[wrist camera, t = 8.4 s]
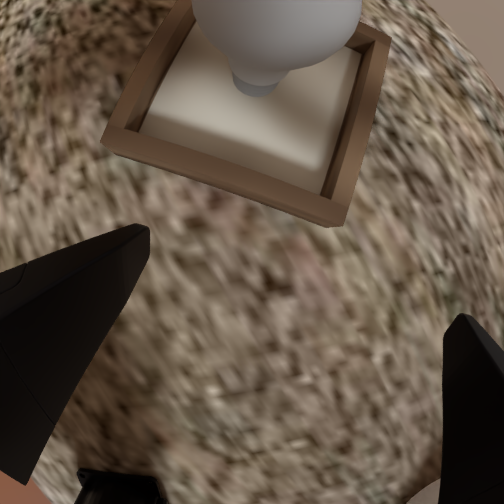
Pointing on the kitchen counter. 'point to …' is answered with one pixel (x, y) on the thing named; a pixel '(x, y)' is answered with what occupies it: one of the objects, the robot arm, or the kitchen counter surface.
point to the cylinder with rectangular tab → (427, 494)
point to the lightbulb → (275, 36)
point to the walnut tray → (252, 120)
